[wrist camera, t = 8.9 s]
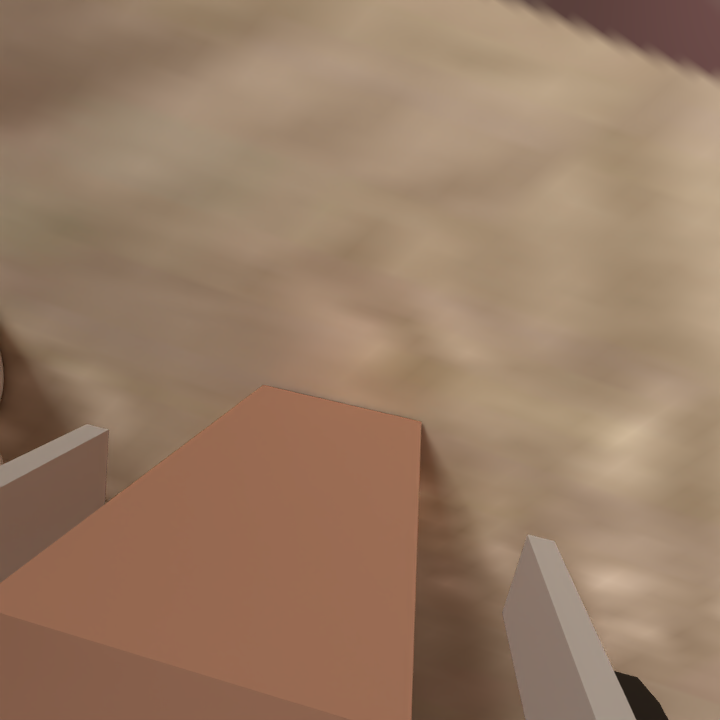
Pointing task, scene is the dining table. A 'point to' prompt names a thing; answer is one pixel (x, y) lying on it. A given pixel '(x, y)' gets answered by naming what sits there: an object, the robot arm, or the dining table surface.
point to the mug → (1, 389)
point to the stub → (232, 579)
